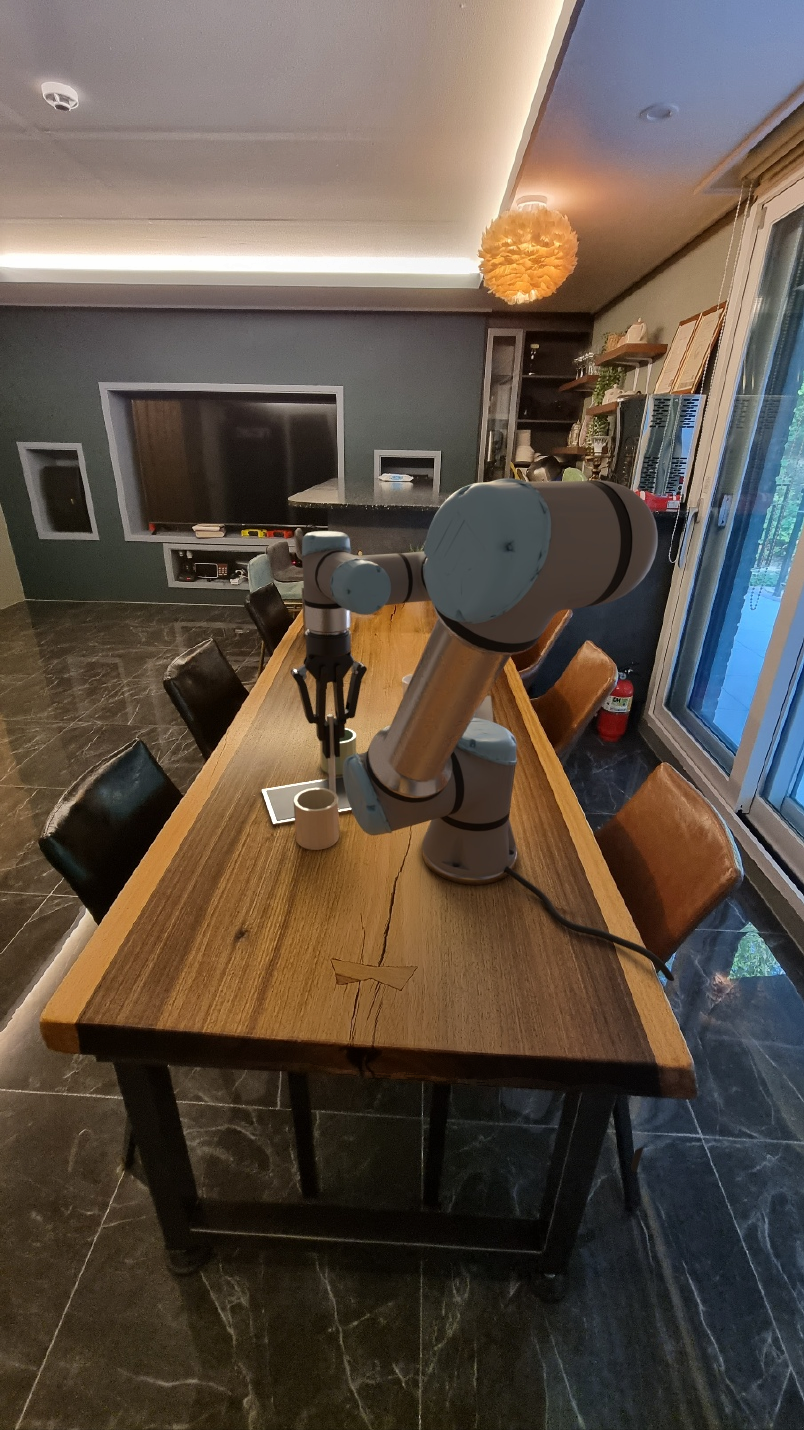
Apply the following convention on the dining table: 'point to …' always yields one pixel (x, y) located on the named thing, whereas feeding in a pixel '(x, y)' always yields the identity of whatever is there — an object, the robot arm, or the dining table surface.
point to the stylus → (331, 754)
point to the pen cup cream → (316, 818)
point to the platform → (485, 710)
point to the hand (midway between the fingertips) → (331, 754)
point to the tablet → (283, 797)
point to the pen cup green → (345, 751)
